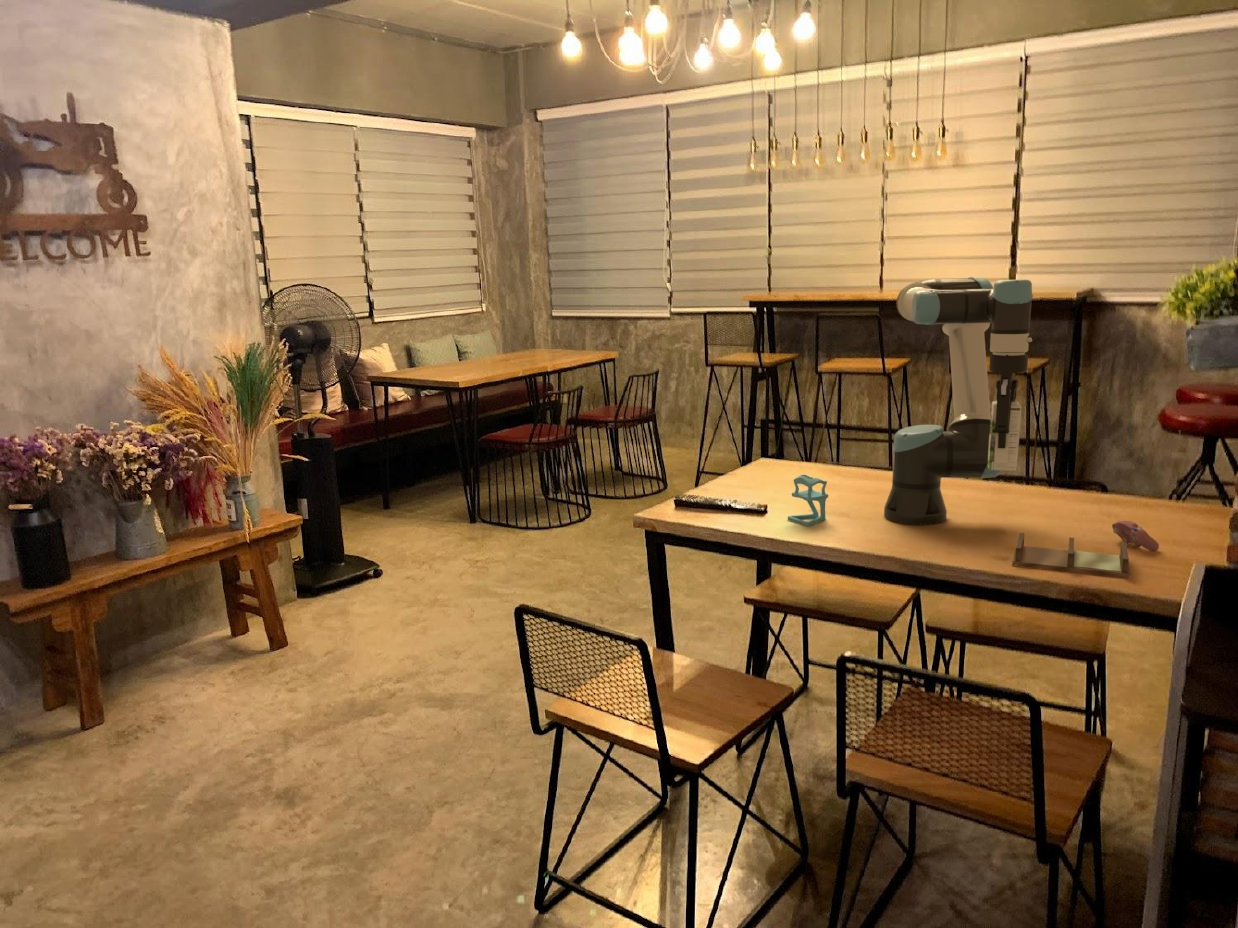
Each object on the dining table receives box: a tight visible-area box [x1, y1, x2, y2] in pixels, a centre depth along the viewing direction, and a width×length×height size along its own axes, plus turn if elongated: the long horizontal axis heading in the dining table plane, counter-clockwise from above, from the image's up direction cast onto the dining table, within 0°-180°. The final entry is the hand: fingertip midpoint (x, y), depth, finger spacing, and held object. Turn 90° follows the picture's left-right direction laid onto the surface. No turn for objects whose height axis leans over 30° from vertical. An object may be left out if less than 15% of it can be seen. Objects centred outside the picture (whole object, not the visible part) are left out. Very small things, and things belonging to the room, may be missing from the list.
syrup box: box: [988, 400, 1022, 472], centre depth 198 cm, size 6×6×14 cm
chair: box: [787, 474, 829, 527], centre depth 232 cm, size 8×8×12 cm
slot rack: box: [1011, 532, 1131, 579], centre depth 195 cm, size 22×12×4 cm, turn 63°
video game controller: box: [1111, 518, 1160, 552], centre depth 205 cm, size 10×5×7 cm, turn 6°
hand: (1003, 459), depth 199 cm, fingers closed on syrup box, 6 cm apart
